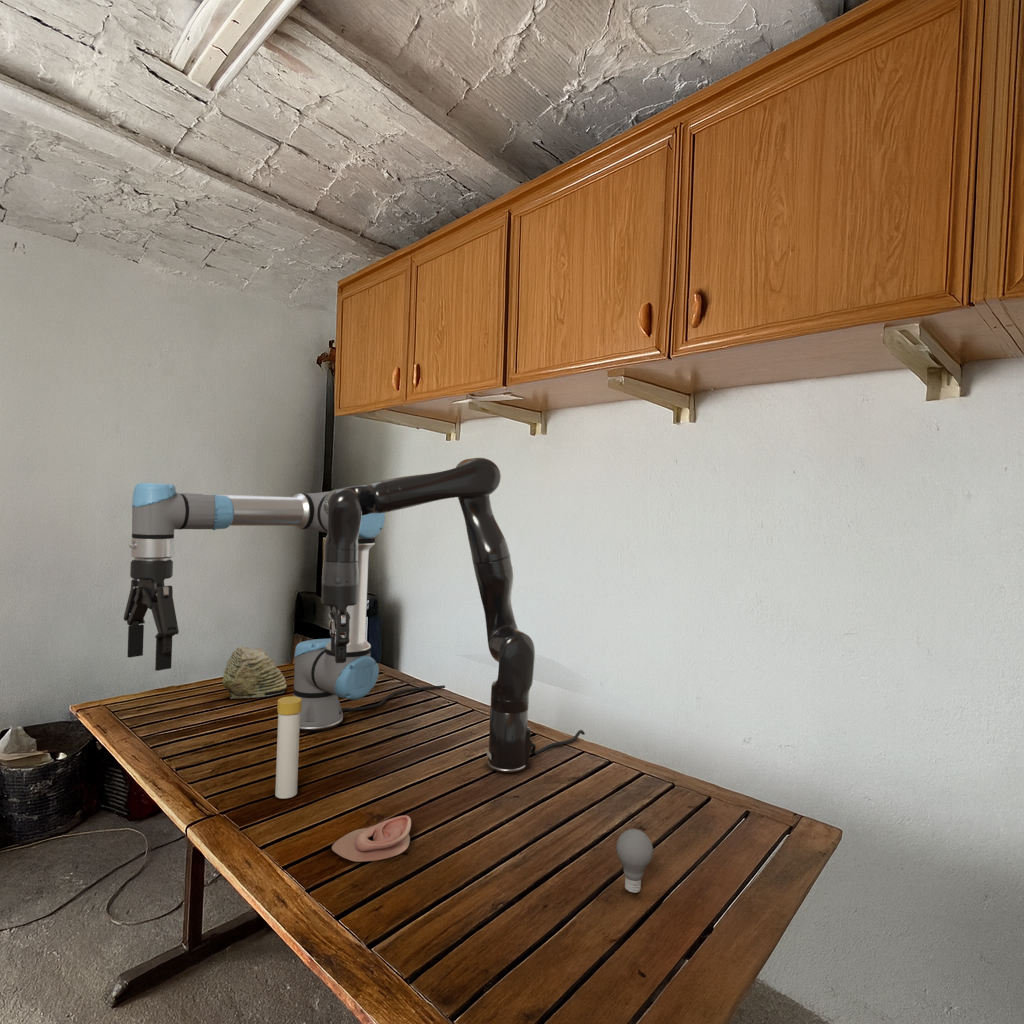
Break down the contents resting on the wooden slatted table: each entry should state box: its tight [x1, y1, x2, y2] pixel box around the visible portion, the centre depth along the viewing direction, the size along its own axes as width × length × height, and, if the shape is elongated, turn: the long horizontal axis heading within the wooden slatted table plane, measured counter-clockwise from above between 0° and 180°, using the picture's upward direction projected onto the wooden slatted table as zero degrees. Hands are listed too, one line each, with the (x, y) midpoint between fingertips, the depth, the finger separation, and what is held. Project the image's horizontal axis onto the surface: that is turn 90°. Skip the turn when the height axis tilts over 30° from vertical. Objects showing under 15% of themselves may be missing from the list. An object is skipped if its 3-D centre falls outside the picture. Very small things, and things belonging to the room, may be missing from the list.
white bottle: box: [274, 712, 300, 800], centre depth 134 cm, size 4×4×20 cm
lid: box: [276, 695, 302, 715], centre depth 134 cm, size 5×5×2 cm
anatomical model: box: [331, 814, 412, 863], centre depth 116 cm, size 13×4×12 cm
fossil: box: [222, 646, 288, 699], centre depth 198 cm, size 9×18×15 cm, turn 132°
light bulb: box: [615, 828, 654, 894], centre depth 106 cm, size 6×6×10 cm
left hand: (148, 662), depth 129 cm, fingers open, 13 cm apart
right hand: (338, 657), depth 135 cm, fingers open, 8 cm apart
